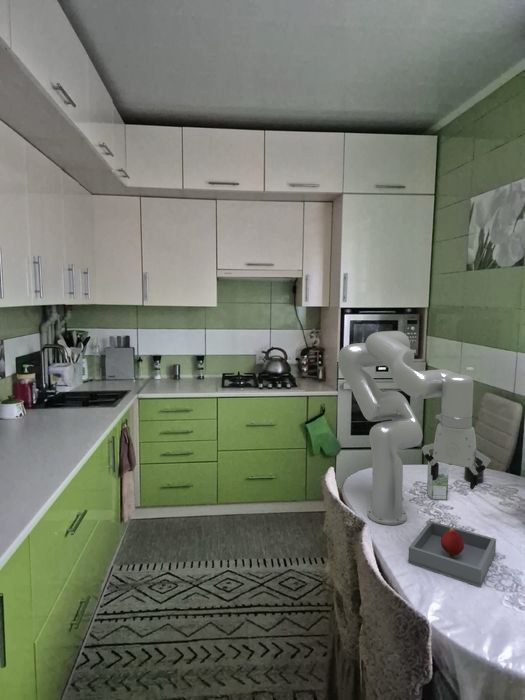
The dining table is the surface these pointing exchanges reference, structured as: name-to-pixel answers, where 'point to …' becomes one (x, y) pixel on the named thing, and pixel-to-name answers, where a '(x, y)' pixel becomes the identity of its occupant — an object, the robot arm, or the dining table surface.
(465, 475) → the supplement bottle
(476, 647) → the dining table surface
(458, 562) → the tray
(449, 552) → the onion
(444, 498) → the syrup box
